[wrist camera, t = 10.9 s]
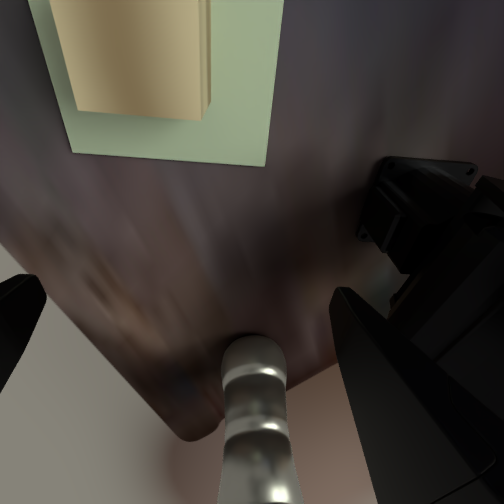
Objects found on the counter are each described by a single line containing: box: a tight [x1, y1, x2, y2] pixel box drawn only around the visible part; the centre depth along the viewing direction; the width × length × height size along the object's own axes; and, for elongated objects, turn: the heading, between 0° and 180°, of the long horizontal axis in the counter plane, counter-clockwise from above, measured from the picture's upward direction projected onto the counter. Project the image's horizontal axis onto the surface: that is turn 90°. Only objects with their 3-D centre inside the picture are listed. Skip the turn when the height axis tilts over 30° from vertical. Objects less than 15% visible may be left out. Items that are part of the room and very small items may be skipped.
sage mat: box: [28, 0, 284, 167], centre depth 14 cm, size 12×12×1 cm
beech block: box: [49, 0, 211, 121], centre depth 12 cm, size 5×5×5 cm
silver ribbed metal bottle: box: [217, 335, 304, 504], centre depth 22 cm, size 6×7×20 cm
